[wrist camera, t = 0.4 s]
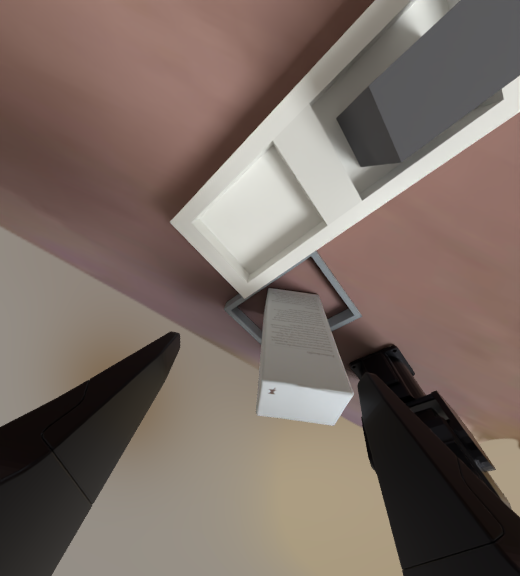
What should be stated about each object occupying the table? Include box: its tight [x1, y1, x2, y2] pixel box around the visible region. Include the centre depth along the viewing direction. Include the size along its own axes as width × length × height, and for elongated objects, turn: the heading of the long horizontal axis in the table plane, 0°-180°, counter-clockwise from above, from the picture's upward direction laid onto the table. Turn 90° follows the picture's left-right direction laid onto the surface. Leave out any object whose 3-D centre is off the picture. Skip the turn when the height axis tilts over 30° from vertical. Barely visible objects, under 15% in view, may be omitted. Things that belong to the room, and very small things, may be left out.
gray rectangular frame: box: [224, 251, 362, 344], centre depth 23 cm, size 10×12×2 cm
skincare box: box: [256, 288, 354, 426], centre depth 18 cm, size 6×4×12 cm
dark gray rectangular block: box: [336, 0, 520, 167], centre depth 11 cm, size 4×6×6 cm, turn 130°
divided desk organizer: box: [170, 0, 520, 299], centre depth 16 cm, size 10×24×2 cm, turn 130°
